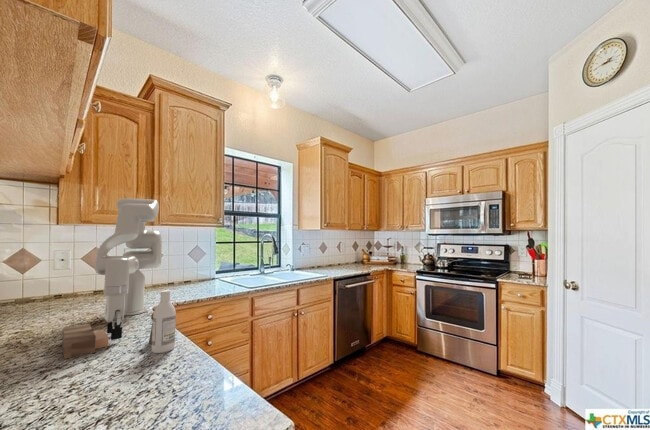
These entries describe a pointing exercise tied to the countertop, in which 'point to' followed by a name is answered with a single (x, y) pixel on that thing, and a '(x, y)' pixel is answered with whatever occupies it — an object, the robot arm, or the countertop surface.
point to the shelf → (78, 340)
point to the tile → (100, 339)
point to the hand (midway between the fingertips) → (114, 335)
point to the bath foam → (164, 325)
